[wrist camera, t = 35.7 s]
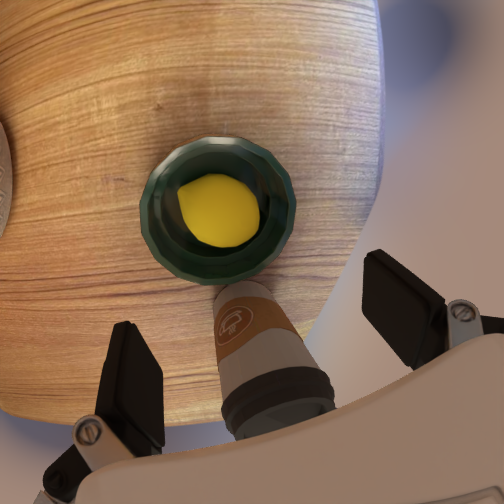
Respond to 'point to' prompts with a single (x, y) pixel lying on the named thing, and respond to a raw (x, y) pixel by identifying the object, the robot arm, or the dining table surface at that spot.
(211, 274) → the bowl
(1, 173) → the planter
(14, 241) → the dining table surface
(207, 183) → the lemon
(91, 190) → the dining table surface
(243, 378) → the coffee cup
